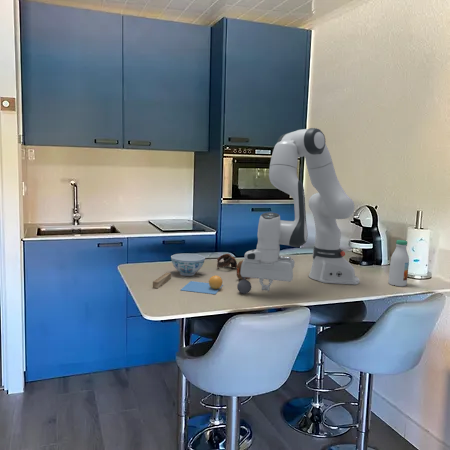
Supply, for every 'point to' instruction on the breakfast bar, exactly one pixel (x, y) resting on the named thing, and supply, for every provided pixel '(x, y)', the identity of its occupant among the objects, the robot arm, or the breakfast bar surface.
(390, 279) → the milk bottle
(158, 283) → the wood strip
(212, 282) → the orange ball
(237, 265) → the tin
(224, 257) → the brown hollow arched shell
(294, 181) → the robot arm
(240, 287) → the grey ball
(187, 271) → the chinaware
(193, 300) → the breakfast bar surface
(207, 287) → the blue mark
